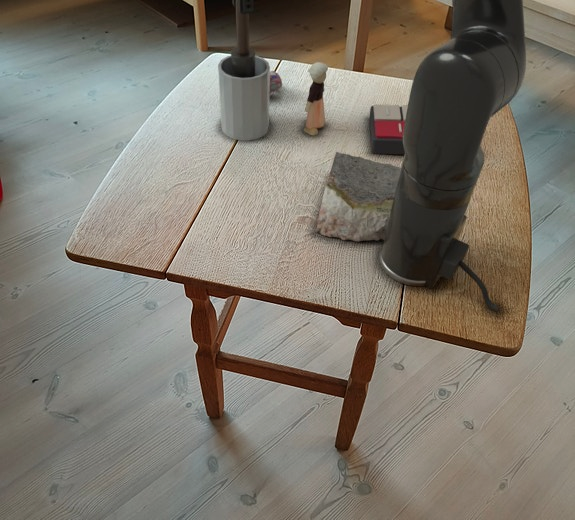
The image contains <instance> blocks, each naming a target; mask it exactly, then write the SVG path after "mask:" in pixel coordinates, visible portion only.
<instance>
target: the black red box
mask: <svg viewBox="0 0 575 520" xmlns="http://www.w3.org/2000/svg"><path fill="white" fill-rule="evenodd" d="M407 107H408V104H407V105H404V104H403V105H401V106H400V105H398V104H374V105H371V107H370V110H369V118H368V123H369V138H370V151H371V154H377V155H379V154H381V155H405V150H404V146H403V130H404V124H405V119H406V113H407Z"/></svg>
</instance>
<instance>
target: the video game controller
mask: <svg viewBox="0 0 575 520" xmlns="http://www.w3.org/2000/svg"><path fill="white" fill-rule="evenodd" d="M282 86H283V82H282V78H281V76H280V74H279V73H278V72H276V71H275V70H270V92H269V96H270V95H271V94H272V93H273V92H275V91H277V90H280V89H281V88H283V87H282Z"/></svg>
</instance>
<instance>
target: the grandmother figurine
mask: <svg viewBox="0 0 575 520" xmlns="http://www.w3.org/2000/svg"><path fill="white" fill-rule="evenodd" d="M328 68H329V66H328V65H327V64H326V63H325V62H319V61H317V62H313V63H312V64H311V66H310V67H309V68H308V69H307V72H308V73H309V76H310V78H311V80H312V83H311V84H310V86H309V91H308V96H307V98H306V103H305V107H304V111H305V112H306V113H307V114H306V120H305V127H304V129H303V132H304V133H306V134H308V135H310V136H317V135H318V134H319V130H318V129H321V128H323V127H324V126H325V125H326V115H325V114H326V111H325V104H324V103H325V102H324V93H325V81H326V79H327V72H328V70H329V69H328Z"/></svg>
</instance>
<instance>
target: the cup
mask: <svg viewBox="0 0 575 520" xmlns="http://www.w3.org/2000/svg"><path fill="white" fill-rule="evenodd" d="M217 72H218V75H217V76H218V90H219V91H218V92H219V93H218V94H219V105H220V106H219V108H220V109H219V111H220V125H221V130H222V133H223V134H224V135H225V136H227V137H228V138H230V139H233V140H235V141H236V140H237V141H245V142H246V141H247V142H248V141H254V140H257V139H258V140H259V139H260V138H262V137H264V136H265V135H266V134H267V133H268V131H269V127H270V95H269V92H270V72H271V66H270V63H269V62H268V60H266V59H265V58H264V57H262V56H259V55H256V54H255V77H250V78H239V77H233V76H232V66H231V55H227V56H225V57H224V58H222V59H221V60H220V61H219V63H218V64H217Z"/></svg>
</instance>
